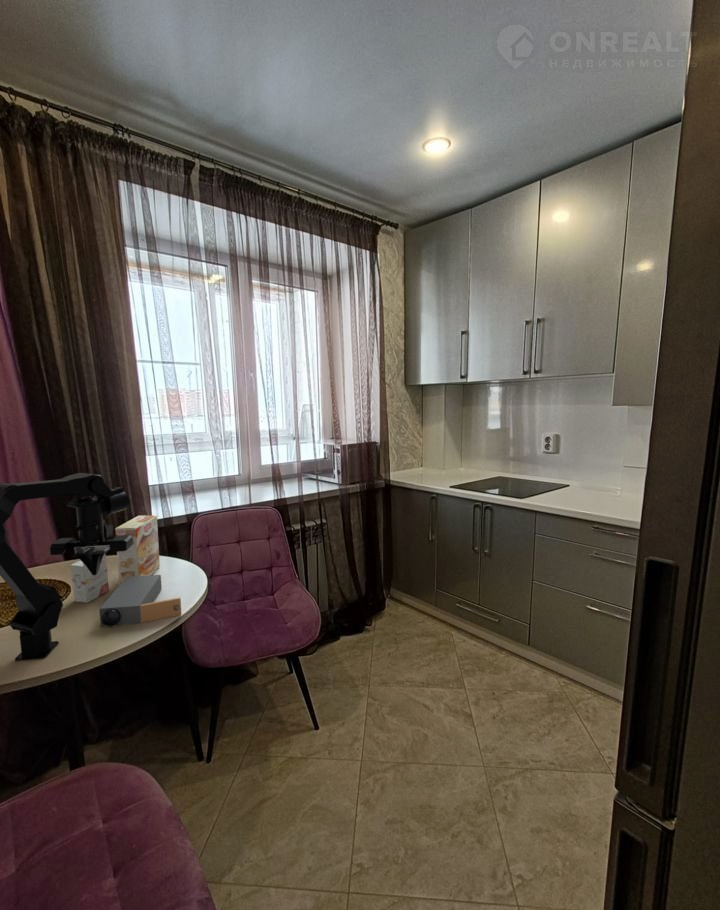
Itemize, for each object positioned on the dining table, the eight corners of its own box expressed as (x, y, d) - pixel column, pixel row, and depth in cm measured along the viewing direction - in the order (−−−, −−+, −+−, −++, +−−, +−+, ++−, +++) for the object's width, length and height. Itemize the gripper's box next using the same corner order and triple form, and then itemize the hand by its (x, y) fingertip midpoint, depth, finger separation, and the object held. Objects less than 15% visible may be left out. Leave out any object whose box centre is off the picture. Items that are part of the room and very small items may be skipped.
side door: (141, 623, 113) (140, 607, 112) (141, 621, 114) (140, 604, 114) (181, 615, 118) (180, 599, 117) (181, 612, 119) (180, 597, 118)
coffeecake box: (140, 585, 136) (136, 528, 133) (118, 585, 136) (113, 528, 133) (161, 567, 151) (157, 515, 148) (141, 567, 151) (137, 514, 148)
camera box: (138, 625, 113) (137, 607, 112) (98, 628, 111) (97, 610, 110) (161, 589, 133) (160, 574, 133) (128, 591, 132) (126, 576, 131)
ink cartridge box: (96, 588, 134) (92, 545, 132) (109, 590, 133) (106, 546, 131) (73, 601, 125) (68, 555, 123) (87, 603, 124) (82, 556, 122)
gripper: (138, 510, 121) (141, 561, 123) (67, 512, 118) (72, 565, 120) (123, 521, 110) (127, 577, 113) (45, 524, 107) (51, 582, 109)
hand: (95, 574), depth 114 cm, fingers closed
